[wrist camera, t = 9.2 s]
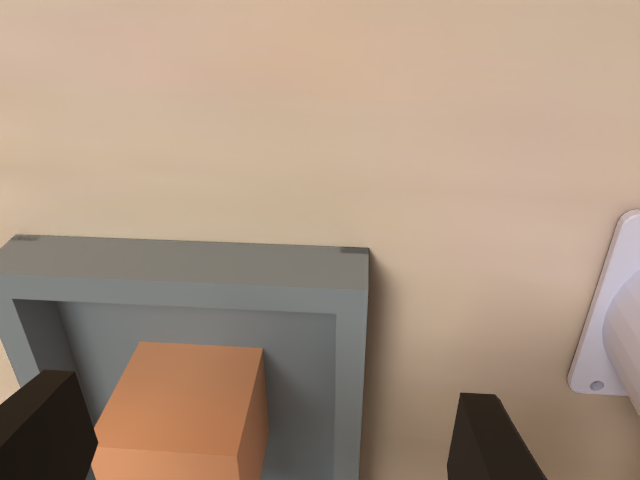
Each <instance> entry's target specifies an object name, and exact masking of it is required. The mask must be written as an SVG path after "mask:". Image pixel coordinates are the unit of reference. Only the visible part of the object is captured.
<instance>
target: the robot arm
mask: <svg viewBox="0 0 640 480" xmlns="http://www.w3.org/2000/svg"><path fill="white" fill-rule="evenodd" d="M595 381H598V382H596V383H593V382H595ZM567 382H568V384H569V387H570V388H571V390H572V391H574V392H576V393H582V394H600V395H618V396H629V398H630V400H631V402H632V404H633V406H634V408H635V410H636V412H637V413H638V415H639V417H640V209H637V210H631V211H629V212H626V213H625V214H624V215H622V216H621V217H620V219H619V221H618V223H617V226H616V229H615V232H614V235H613V238H612V241H611V244H610V247H609V251H608V254H607V257H606V260H605V263H604V266H603V269H602V272H601V275H600V278H599V282H598V285H597V288H596V291H595V294H594V297H593V300H592V303H591V306H590V309H589V313H588V316H587V319H586V322H585V325H584V328H583V331H582V334H581V337H580V340H579V344H578V347H577V350H576V353H575V356H574V359H573V362H572V365H571V368H570V371H569V375H568V378H567ZM97 446H98V440H97V437H96V434H95V430H94V427H93V424H92V421H91V418H90V415H89V412H88V409H87V406H86V403H85V400H84V397H83V394H82V391H81V388H80V385H79V382H78V379H77V376H76V373H75V371H61V370H43V371H42V372H41V373H39V374H38V375H37V376H35V377H34V378H33V379H32V380H30V381H29V382H28V383H26V384H25V385H24V386H23V387H22V388H20V389H19V390H18V391H17V392H15V393H14V394H13V395H12V396H10V397H9V398H8V399H7V400H6V401H4V402H3V403H2V404H1V405H0V480H86V477H87V475H88V472H89V469H90V466H91V463H92V460H93V457H94V455H95V452H96V449H97ZM447 471H448V480H547V478H546V477H545V475H544V474H543V472H542V471H541V469H540V467H539V466H538V464H537V463H536V461H535V459H534V458H533V456H532V454H531V453H530V451H529V450H528V448H527V446H526V445H525V443H524V441H523V440H522V438H521V436H520V435H519V433H518V431H517V429H516V428H515V426H514V424H513V422H512V421H511V419H510V417H509V415H508V414H507V412H506V410H505V408H504V406H503V404H502V403H501V401H500V399H499V398H498V397H497V396H496V395H494V394H476V393H460V398H459V403H458V408H457V414H456V419H455V425H454V430H453V436H452V441H451V446H450V452H449V457H448V463H447Z"/></svg>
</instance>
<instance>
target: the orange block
mask: <svg viewBox="0 0 640 480" xmlns="http://www.w3.org/2000/svg"><path fill="white" fill-rule="evenodd" d="M94 430H95V434H96V437H97V440H98V446H97V449H96V452H95V455H94V457H93V460H92V463H91V467H92V470H93V472H94V475H95V478H96V480H260V478H261V472H262V467H263V462H264V457H265V452H266V446H267V441H268V436H269V424H268V410H267V397H266V383H265V370H264V357H263V348H252V347H233V346H215V345H196V344H177V343H159V342H139V344H138V346H137V348H136V350H135V352H134V353H133V355H132V357H131V359H130V361H129V363H128V365H127V367H126V369H125V370H124V372H123V374H122V376H121V378H120V380H119V382H118V384H117V386H116V387H115V389H114V391H113V393H112V395H111V397H110V399H109V401H108V403H107V404H106V406H105V408H104V410H103V412H102V414H101V416H100V418H99V420H98V421H97V423H96V425H95V427H94Z"/></svg>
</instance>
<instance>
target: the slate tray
mask: <svg viewBox="0 0 640 480" xmlns="http://www.w3.org/2000/svg"><path fill="white" fill-rule="evenodd" d="M368 275H369V248H356V247H330V246H304V245H277V244H251V243H225V242H198V241H172V240H146V239H119V238H93V237H66V236H40V235H15V236H14V237H13V238H12V239H10V240H9V241H8V242H7V243H6V244H5V245H4V246H3V247H2V248H1V249H0V338H1V341H2V343H3V346H4V348H5V351H6V353H7V356H8V358H9V360H10V363H11V365H12V368H13V370H14V373H15V375H16V378H17V380H18V382H19V385H20V387H21V388H22V387H23V386H24V385H25V384H26V383H28V382H29V381H30V380H32V379H33V378H34V377H35V376H37V375H38V374H39V373H41V372H42V371H43V370H61V371H75V373H76V376H77V379H78V382H79V385H80V388H81V391H82V394H83V397H84V400H85V403H86V406H87V409H88V412H89V415H90V418H91V421H92V424H93V427H95V425H96V423H97V421H98V420H99V418H100V416H101V414H102V412H103V410H104V408H105V406H106V404H107V403H108V401H109V399H110V397H111V395H112V393H113V391H114V389H115V387H116V386H117V384H118V382H119V380H120V378H121V376H122V374H123V372H124V370H125V369H126V367H127V365H128V363H129V361H130V359H131V357H132V355H133V353H134V352H135V350H136V348H137V346H138V344H139V342H159V343H177V344H196V345H215V346H233V347H252V348H263V357H264V370H265V383H266V397H267V410H268V424H269V436H268V441H267V446H266V452H265V457H264V462H263V467H262V472H261V478H260V480H359V461H360V442H361V423H362V404H363V385H364V366H365V347H366V327H367V308H368ZM86 480H96V478H95V475H94V472H93V470H92V467H91V466H90V469H89V472H88V475H87V477H86Z"/></svg>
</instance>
